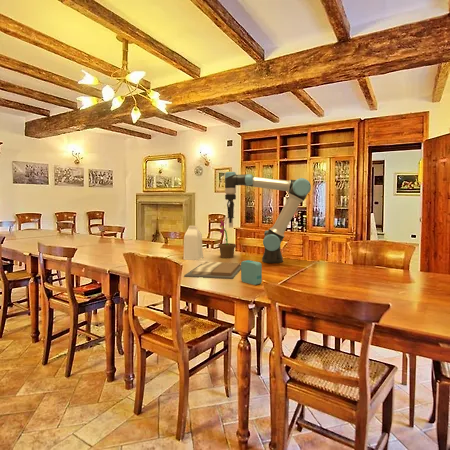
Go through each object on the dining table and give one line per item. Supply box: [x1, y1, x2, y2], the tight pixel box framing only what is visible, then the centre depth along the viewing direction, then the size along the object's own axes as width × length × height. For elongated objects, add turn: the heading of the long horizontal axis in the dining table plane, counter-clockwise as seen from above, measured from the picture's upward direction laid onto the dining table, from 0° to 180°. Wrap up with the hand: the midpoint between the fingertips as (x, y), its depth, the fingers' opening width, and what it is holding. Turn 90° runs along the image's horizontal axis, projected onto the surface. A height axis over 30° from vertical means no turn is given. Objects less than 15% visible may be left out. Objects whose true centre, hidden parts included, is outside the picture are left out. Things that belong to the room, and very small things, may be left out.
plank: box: [192, 261, 223, 275], centre depth 217 cm, size 12×30×2 cm, turn 167°
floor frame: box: [184, 262, 241, 280], centre depth 216 cm, size 30×35×3 cm
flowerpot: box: [217, 219, 237, 259], centre depth 266 cm, size 14×14×30 cm
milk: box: [183, 225, 204, 261], centre depth 261 cm, size 12×12×26 cm
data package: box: [240, 259, 263, 286], centre depth 186 cm, size 12×4×12 cm, turn 41°
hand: (230, 227), depth 237 cm, fingers closed
